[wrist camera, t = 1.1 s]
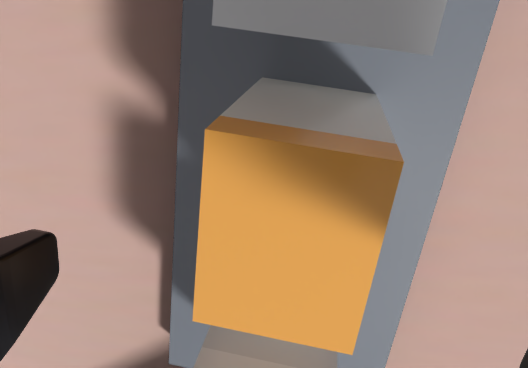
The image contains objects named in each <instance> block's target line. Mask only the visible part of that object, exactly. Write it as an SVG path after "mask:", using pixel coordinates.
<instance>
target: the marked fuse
mask: <svg viewBox="0 0 528 368" xmlns="http://www.w3.org/2000/svg"><path fill="white" fill-rule="evenodd" d="M403 164H404V160H403V158H402V156H401V153H400V151H399V148H398V146H397V144H396V141H395V139H394V136H393V134H392V131H391V129H390V127H389V124H388V122H387V119H386V117H385V114H384V112H383V110H382V107H381V105H380V102H379V100H378V98H377V95H376V94H371V93H364V92H357V91H351V90H344V89H337V88H331V87H324V86H317V85H310V84H304V83H297V82H290V81H284V80H277V79H270V78H264V77H262V78H261V79H260V80H259V81H257V82H256V83H255V84H254V85H253V86H252V87H251V88H250V89H249V90H248V91H246V92H245V93H244V94H243V95H242V96H241V97H240V98H239V99H238V100H237V101H235V102H234V103H233V104H232V105H231V106H230V107H229V108H228V109H227V110H226V111H224V112H223V113H222V114H221V115H220V116H219V117H218V118H217V119H216V120H215V121H213V122H212V123H211V124H210V125H209V126H208V127H207V128H206V129H205V136H204V152H203V167H202V182H201V198H200V213H199V228H198V244H197V259H196V274H195V290H194V305H193V320H192V321H194V322H199V323H203V324H208V325H213V326H218V327H222V328H227V329H232V330H236V331H241V332H246V333H250V334H255V335H260V336H265V337H269V338H274V339H279V340H283V341H288V342H293V343H297V344H302V345H307V346H312V347H316V348H321V349H326V350H330V351H335V352H340V353H344V354H349V355H353V351H354V348H355V344H356V340H357V336H358V333H359V329H360V325H361V321H362V318H363V314H364V310H365V306H366V303H367V299H368V295H369V291H370V288H371V284H372V280H373V276H374V273H375V269H376V265H377V261H378V258H379V254H380V250H381V247H382V243H383V239H384V235H385V232H386V228H387V224H388V220H389V217H390V213H391V209H392V205H393V202H394V198H395V194H396V190H397V187H398V183H399V179H400V175H401V172H402V168H403Z"/></svg>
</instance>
